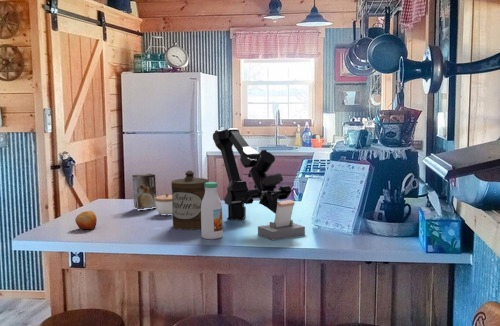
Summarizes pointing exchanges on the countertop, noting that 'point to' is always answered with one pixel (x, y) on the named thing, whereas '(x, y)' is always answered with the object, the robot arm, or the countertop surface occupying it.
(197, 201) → the wooden container
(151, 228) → the countertop surface
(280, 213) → the lever
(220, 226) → the milk bottle
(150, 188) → the coffee box
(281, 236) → the switch unit
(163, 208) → the lidded jar
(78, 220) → the fruit
